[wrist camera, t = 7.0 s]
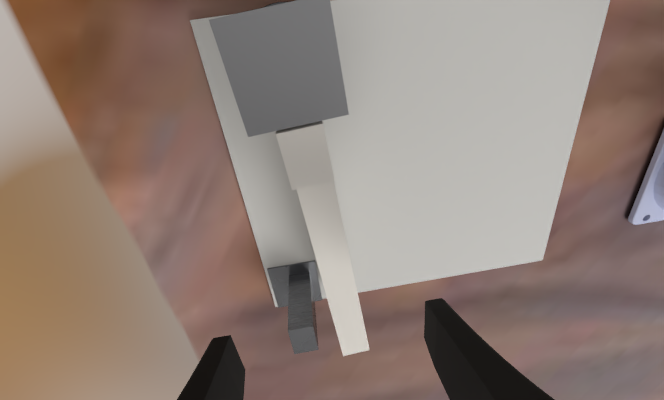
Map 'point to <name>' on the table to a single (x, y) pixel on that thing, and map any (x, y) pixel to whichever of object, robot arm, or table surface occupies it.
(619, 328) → the table surface
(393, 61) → the mat
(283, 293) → the dark grey stepped block
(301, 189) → the gate
